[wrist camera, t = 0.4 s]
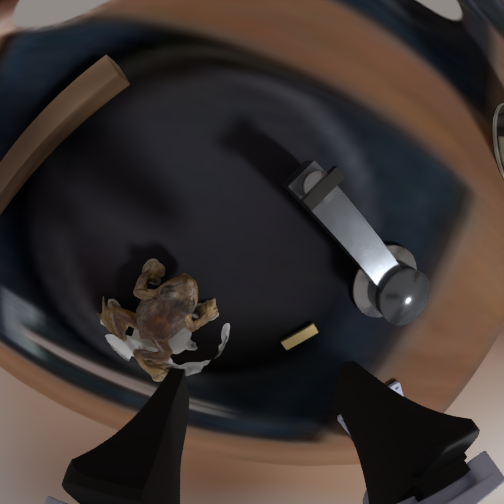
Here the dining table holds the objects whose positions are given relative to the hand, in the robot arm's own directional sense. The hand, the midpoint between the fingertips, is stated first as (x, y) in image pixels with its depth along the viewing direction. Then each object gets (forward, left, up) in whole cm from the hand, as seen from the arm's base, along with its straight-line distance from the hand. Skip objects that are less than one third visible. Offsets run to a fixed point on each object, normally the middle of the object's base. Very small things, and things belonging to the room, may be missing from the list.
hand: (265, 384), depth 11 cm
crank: (-1, -9, -9) cm, 12 cm away
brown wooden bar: (+19, +7, -9) cm, 22 cm away
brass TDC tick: (-5, -2, -9) cm, 11 cm away
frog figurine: (+2, +7, -10) cm, 12 cm away
